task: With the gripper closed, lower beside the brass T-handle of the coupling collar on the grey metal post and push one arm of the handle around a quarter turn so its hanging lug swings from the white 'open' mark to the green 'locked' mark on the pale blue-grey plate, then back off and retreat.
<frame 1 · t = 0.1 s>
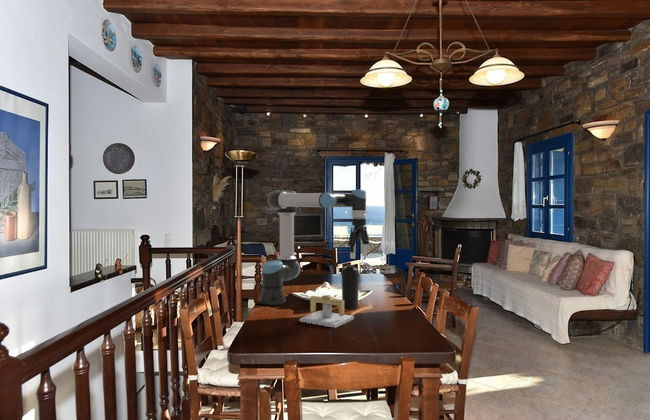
hand: (358, 257, 240), 28 cm above the table, fingers open, 13 cm apart
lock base: (327, 320, 217), on the table
water bottle: (350, 307, 243), on the table
collar: (327, 304, 216), point 8 cm above the table, hinge at 0.0°
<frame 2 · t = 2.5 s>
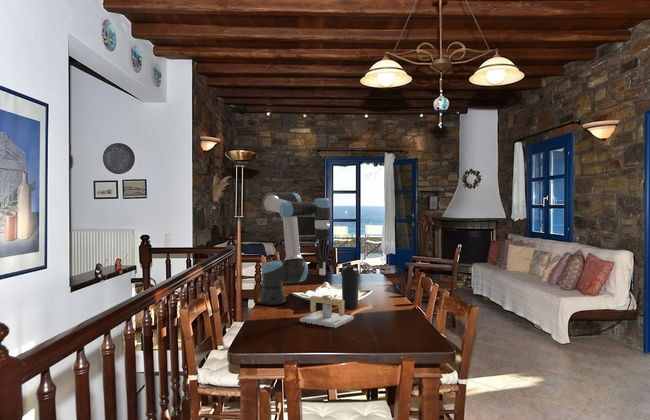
hand: (322, 274, 225), 21 cm above the table, fingers closed
nothing on the table moved.
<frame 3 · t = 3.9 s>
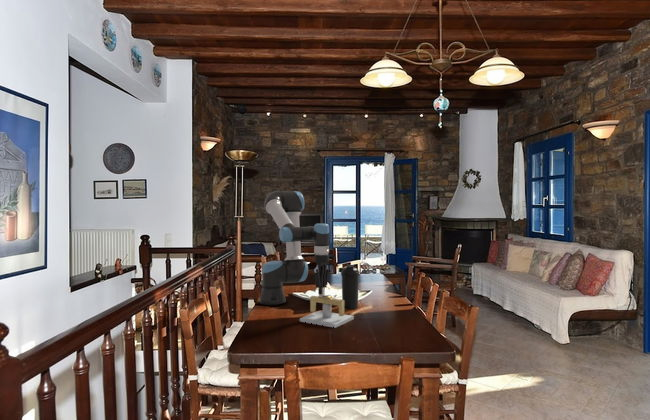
hand: (321, 300, 225), 8 cm above the table, fingers closed
nothing on the table moved.
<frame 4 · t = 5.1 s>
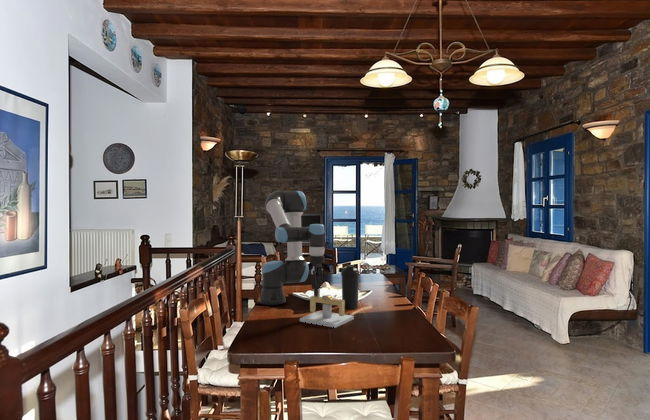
hand: (316, 301, 222), 8 cm above the table, fingers closed
collar: (327, 304, 216), point 8 cm above the table, hinge at 1.5°, touching gripper
everything else where it was.
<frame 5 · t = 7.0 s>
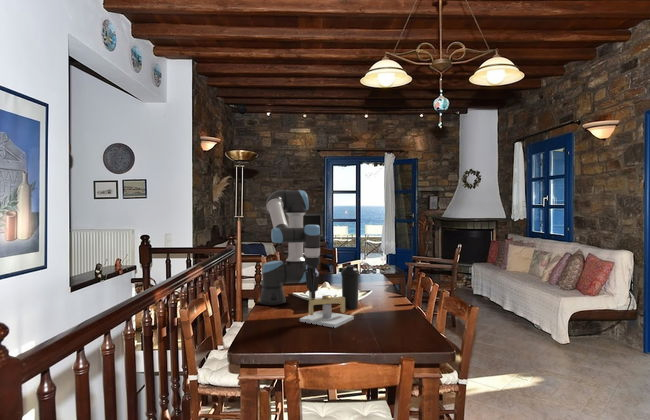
hand: (312, 304, 216), 8 cm above the table, fingers closed
collar: (327, 304, 216), point 8 cm above the table, hinge at 50.8°, touching gripper
everything else where it was.
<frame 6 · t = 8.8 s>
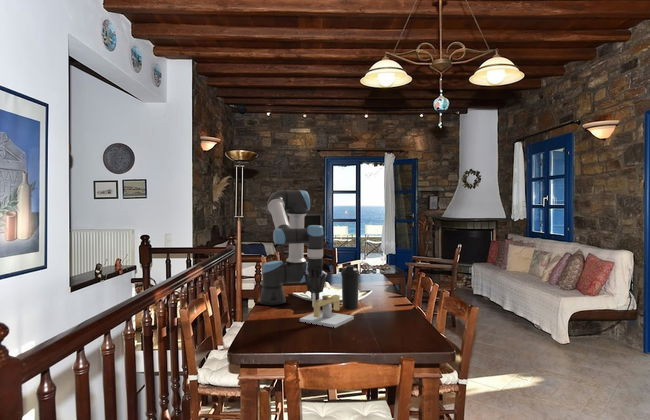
hand: (315, 306, 212), 8 cm above the table, fingers closed
collar: (327, 304, 216), point 8 cm above the table, hinge at 85.9°, touching gripper
everything else where it was.
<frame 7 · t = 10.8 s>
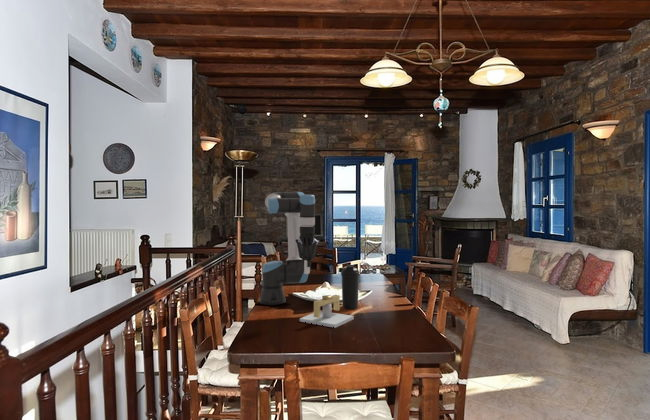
hand: (306, 273, 218), 23 cm above the table, fingers closed
collar: (327, 304, 216), point 8 cm above the table, hinge at 85.9°
everything else where it was.
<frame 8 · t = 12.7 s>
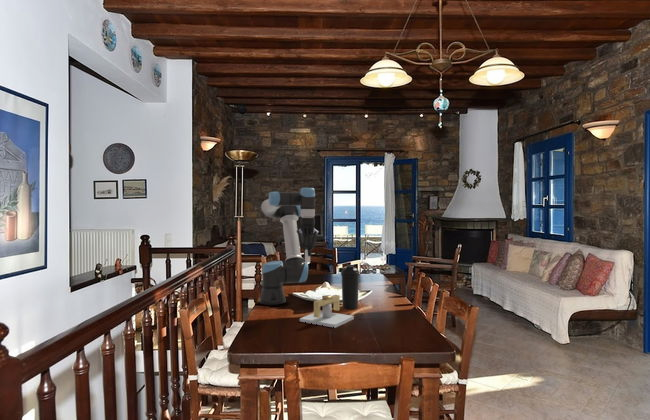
hand: (307, 262, 232), 26 cm above the table, fingers closed
nothing on the table moved.
at the end: collar at +86° (first picture: +0°); collar touching nothing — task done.
